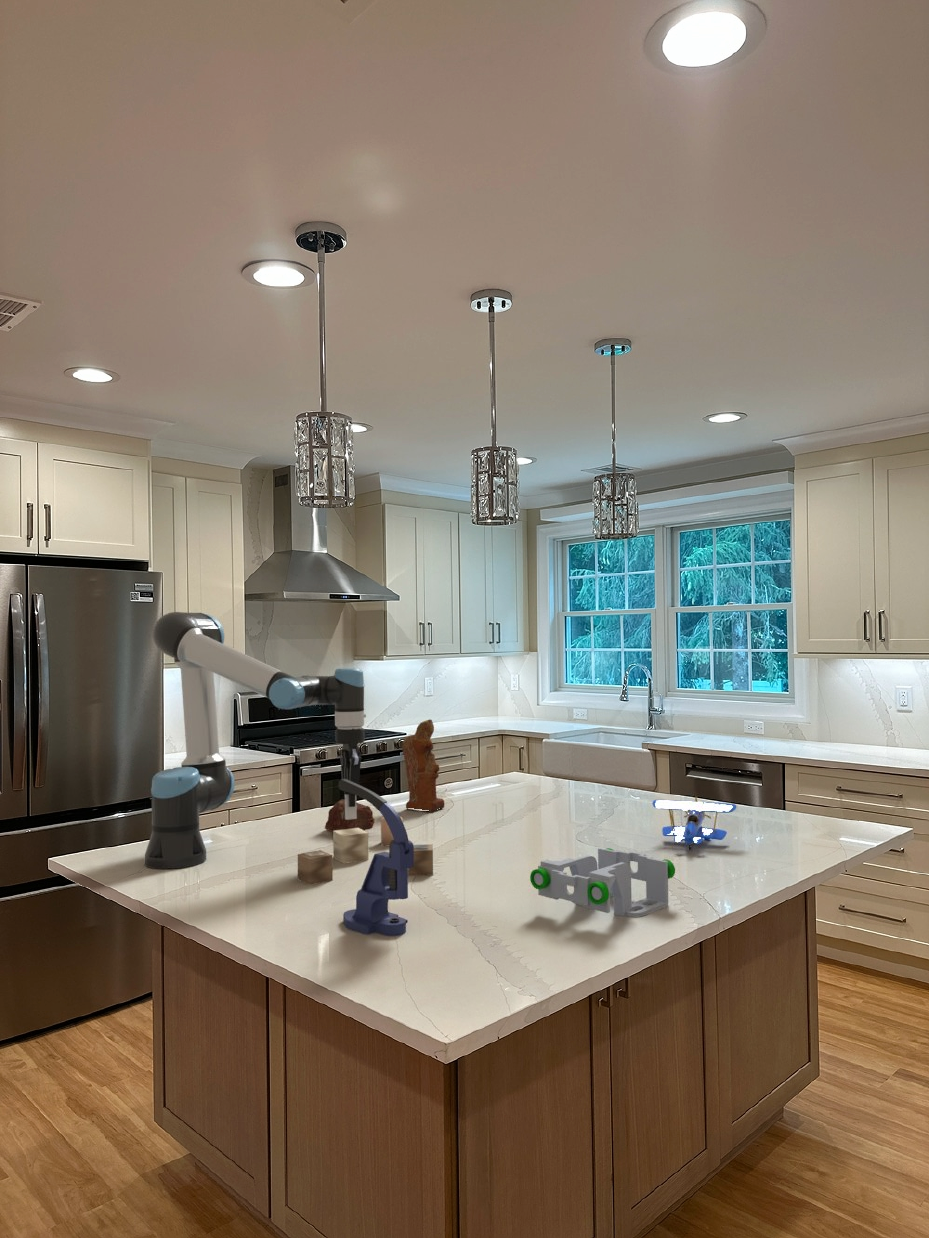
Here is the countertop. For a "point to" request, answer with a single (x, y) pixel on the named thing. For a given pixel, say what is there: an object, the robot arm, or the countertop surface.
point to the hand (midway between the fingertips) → (350, 818)
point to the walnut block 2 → (422, 860)
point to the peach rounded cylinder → (386, 832)
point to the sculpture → (421, 769)
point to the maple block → (350, 845)
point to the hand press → (381, 874)
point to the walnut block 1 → (315, 867)
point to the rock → (340, 823)
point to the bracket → (606, 881)
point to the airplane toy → (693, 820)
